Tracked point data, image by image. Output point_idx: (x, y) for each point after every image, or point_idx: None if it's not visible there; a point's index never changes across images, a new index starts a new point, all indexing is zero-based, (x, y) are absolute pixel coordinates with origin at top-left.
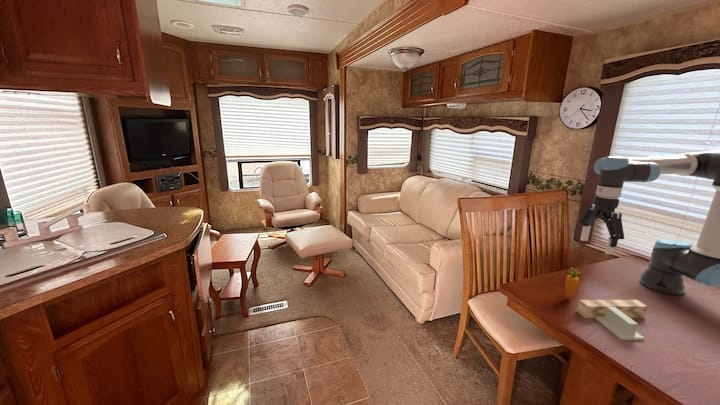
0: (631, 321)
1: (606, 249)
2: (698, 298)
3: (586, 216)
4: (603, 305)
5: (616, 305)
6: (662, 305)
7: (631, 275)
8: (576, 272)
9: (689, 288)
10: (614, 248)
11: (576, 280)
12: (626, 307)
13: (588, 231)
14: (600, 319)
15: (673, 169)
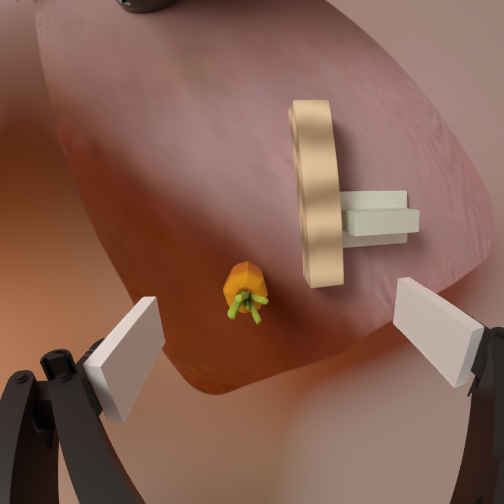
0: (411, 219)
1: (412, 336)
2: None
3: (48, 486)
4: (337, 232)
5: (334, 191)
6: (250, 25)
7: (102, 17)
8: (246, 295)
9: None
10: (431, 294)
11: (265, 292)
12: (336, 163)
13: (126, 346)
14: (349, 245)
15: None
